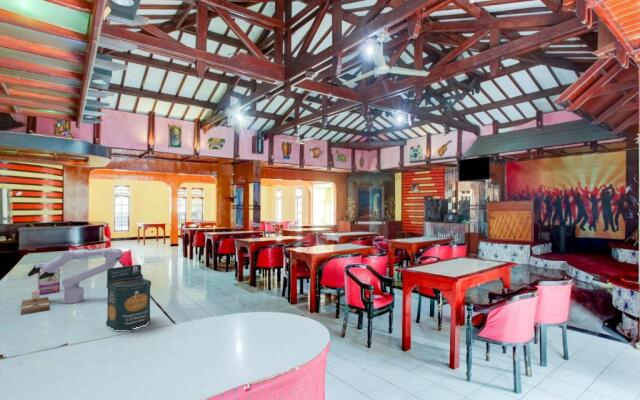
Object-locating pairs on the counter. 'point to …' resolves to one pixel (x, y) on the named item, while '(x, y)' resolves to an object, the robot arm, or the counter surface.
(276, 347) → the counter surface
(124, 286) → the donation box
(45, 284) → the candy bar box
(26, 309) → the socket board
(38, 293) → the plug
